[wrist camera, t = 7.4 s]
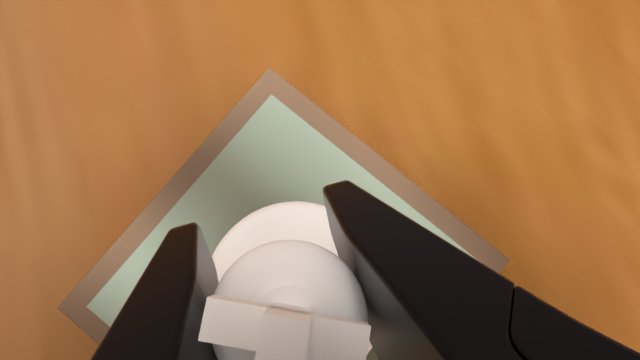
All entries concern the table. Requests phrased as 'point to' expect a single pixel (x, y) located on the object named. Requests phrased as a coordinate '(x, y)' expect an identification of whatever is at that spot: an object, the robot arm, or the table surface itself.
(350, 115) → the table surface
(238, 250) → the chess piece
